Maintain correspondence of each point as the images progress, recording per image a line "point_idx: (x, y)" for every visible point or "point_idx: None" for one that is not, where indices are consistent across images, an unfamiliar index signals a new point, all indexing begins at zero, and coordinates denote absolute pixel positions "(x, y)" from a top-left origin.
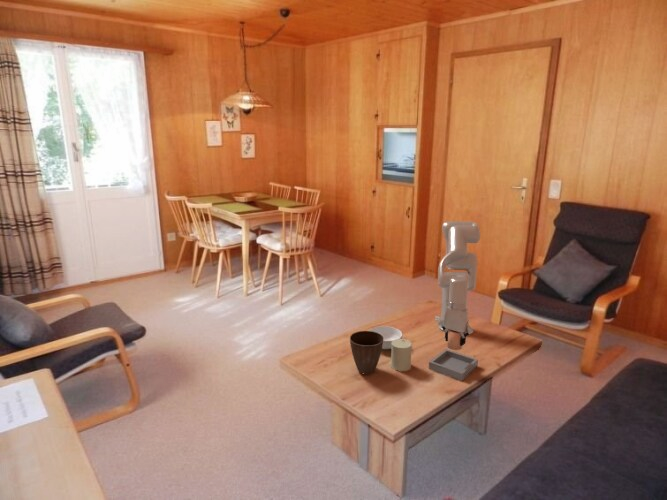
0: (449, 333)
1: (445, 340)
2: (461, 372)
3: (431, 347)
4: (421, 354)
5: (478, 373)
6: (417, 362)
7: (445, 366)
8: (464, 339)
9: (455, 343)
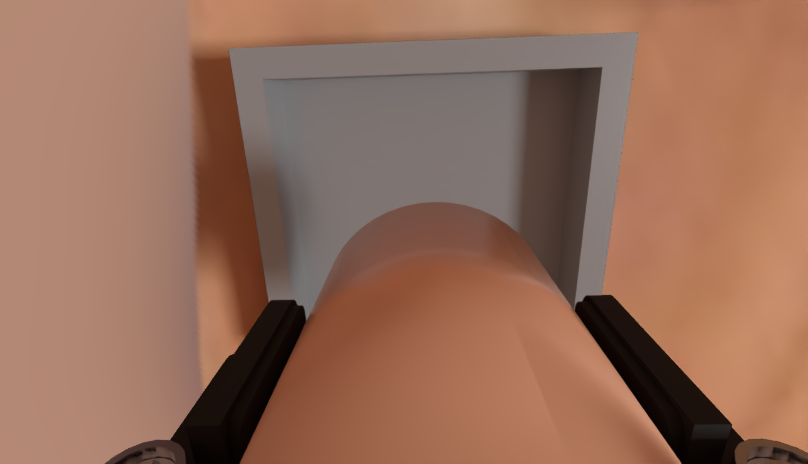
0: (604, 409)
1: (614, 299)
2: (251, 68)
3: (714, 382)
4: (756, 236)
5: (239, 259)
6: (744, 79)
7: (441, 67)
8: (183, 436)
9: (360, 265)
